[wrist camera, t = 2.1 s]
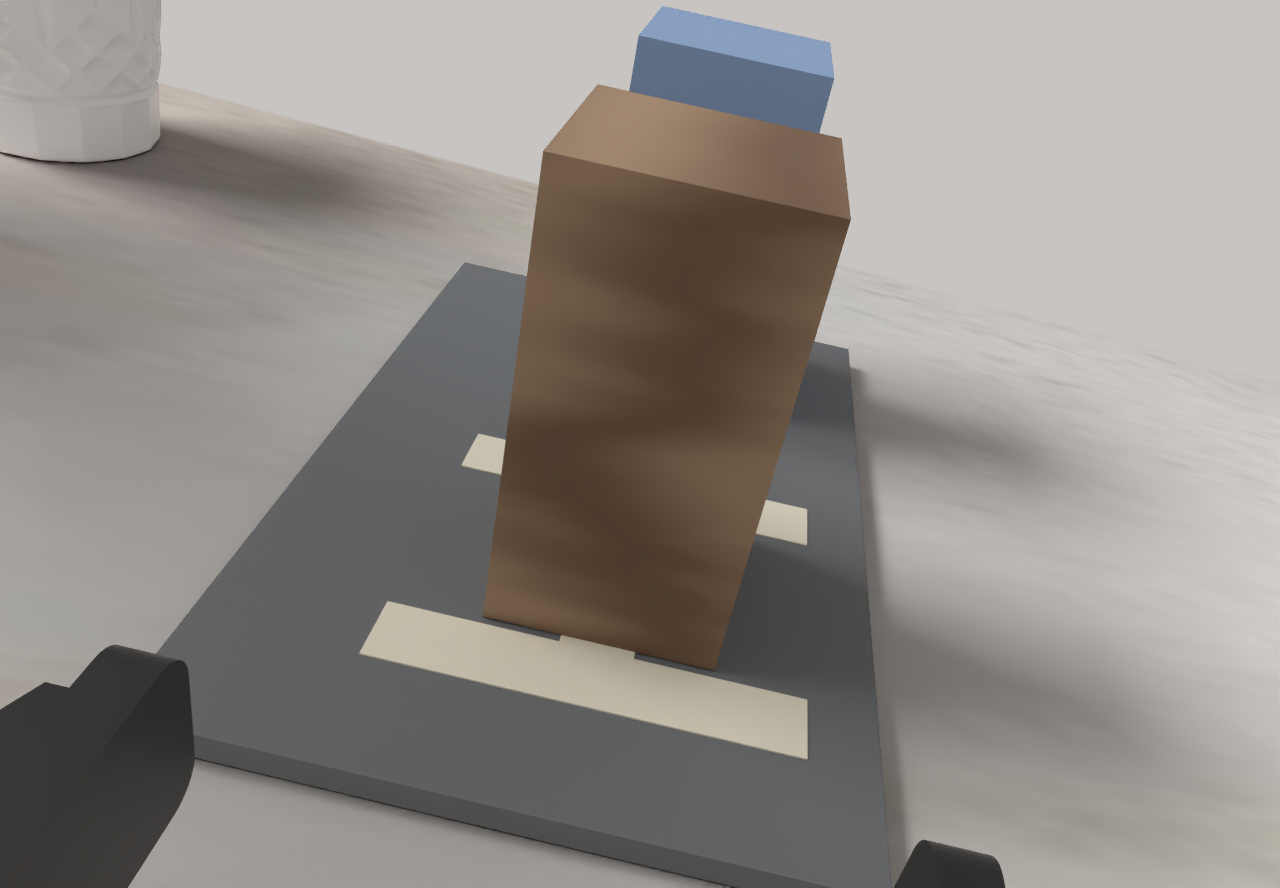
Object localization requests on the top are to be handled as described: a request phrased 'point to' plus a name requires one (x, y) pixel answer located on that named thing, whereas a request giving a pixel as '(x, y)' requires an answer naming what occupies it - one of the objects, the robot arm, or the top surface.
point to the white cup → (79, 78)
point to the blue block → (734, 68)
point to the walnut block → (658, 367)
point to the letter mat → (546, 642)
